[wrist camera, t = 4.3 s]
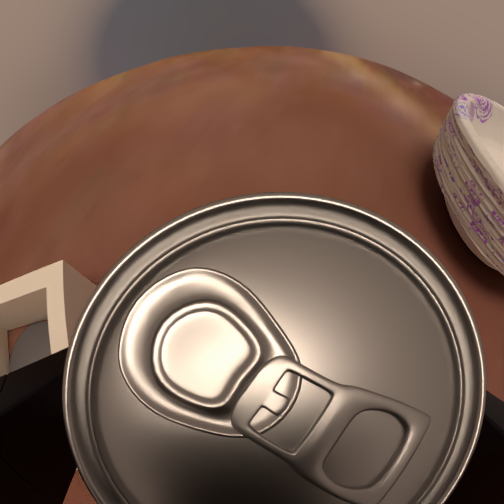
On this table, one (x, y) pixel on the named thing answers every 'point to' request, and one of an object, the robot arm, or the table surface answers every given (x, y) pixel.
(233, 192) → the table surface
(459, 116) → the paper bowls
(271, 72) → the table surface
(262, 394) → the can
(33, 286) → the collar
